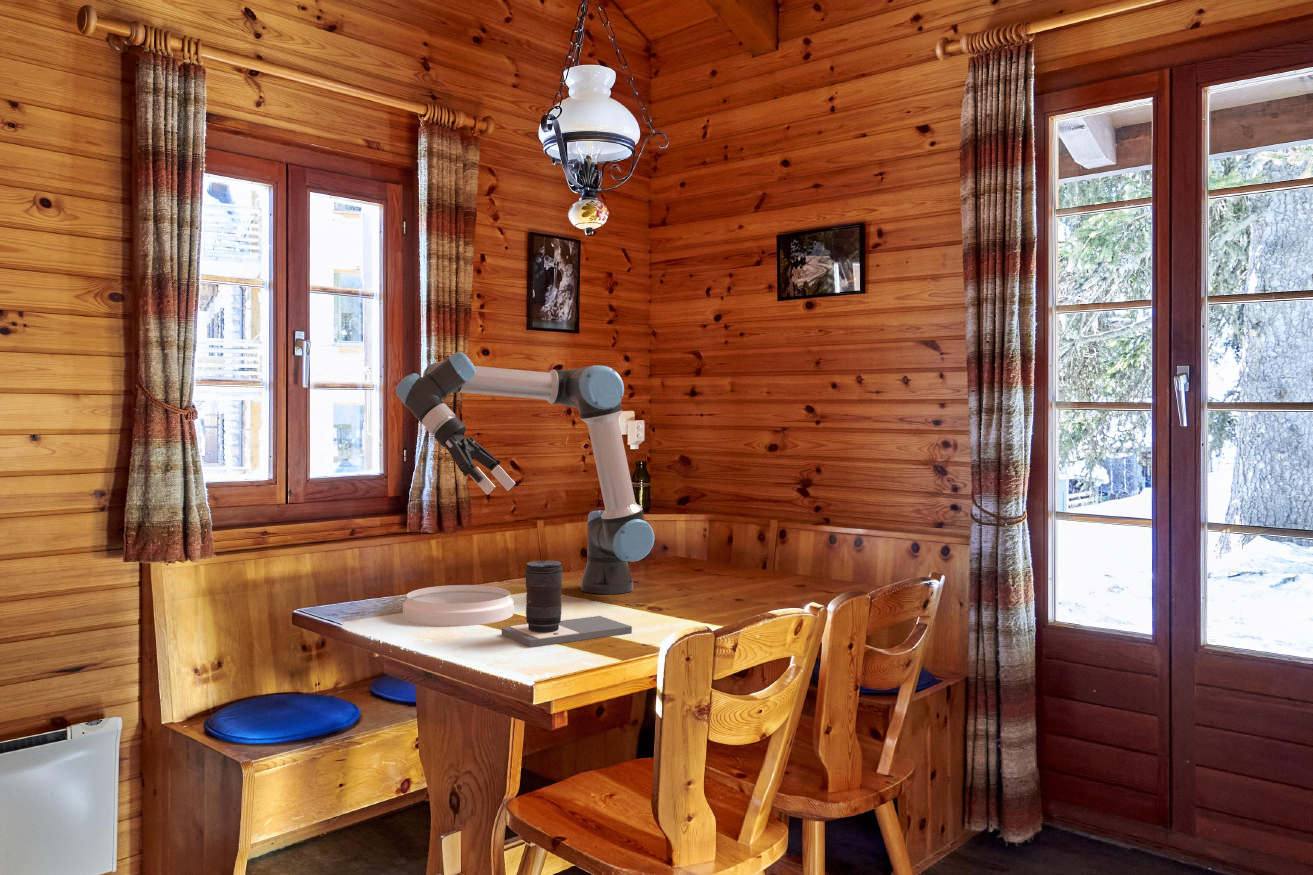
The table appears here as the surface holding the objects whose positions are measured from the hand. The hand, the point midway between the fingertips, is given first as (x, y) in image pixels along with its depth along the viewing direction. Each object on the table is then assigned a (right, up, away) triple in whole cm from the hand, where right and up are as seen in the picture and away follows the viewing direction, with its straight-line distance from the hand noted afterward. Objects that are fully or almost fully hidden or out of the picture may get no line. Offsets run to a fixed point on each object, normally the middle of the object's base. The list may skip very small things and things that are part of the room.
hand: (501, 488), depth 227 cm
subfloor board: (+17, -32, -15) cm, 40 cm away
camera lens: (+12, -31, -19) cm, 38 cm away
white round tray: (-11, -32, +5) cm, 34 cm away
